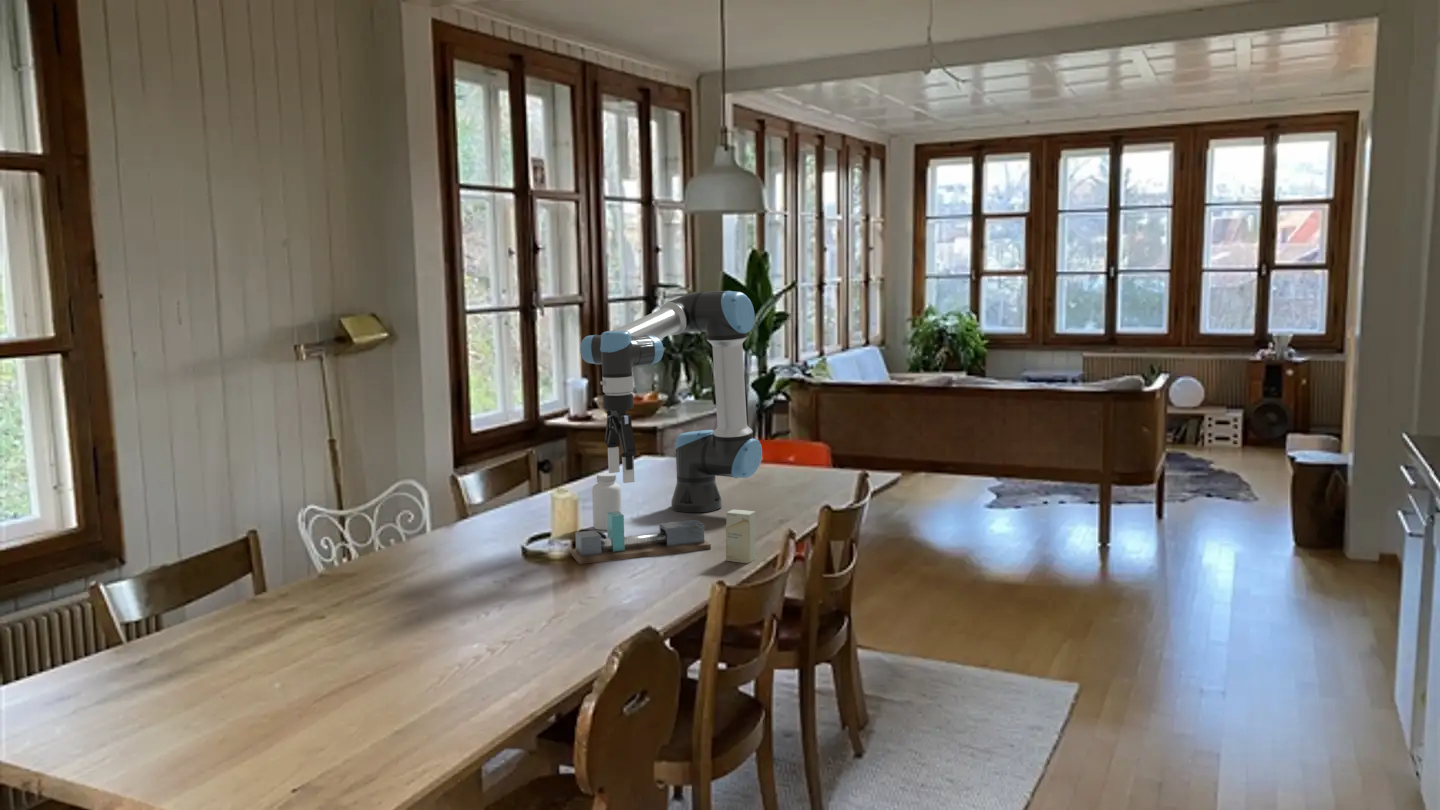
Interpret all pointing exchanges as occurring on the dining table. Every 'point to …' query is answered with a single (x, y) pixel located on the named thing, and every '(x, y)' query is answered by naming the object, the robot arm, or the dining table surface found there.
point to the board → (639, 552)
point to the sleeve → (683, 532)
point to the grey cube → (588, 543)
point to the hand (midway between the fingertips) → (621, 477)
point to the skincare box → (740, 536)
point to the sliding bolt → (620, 542)
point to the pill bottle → (605, 499)
